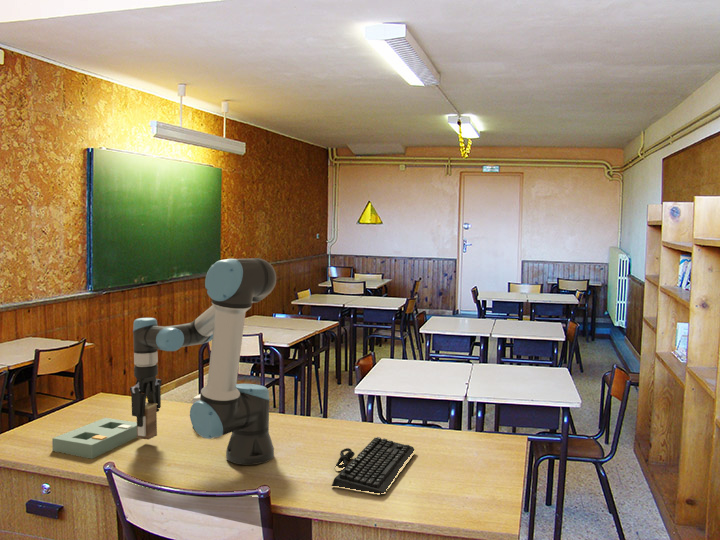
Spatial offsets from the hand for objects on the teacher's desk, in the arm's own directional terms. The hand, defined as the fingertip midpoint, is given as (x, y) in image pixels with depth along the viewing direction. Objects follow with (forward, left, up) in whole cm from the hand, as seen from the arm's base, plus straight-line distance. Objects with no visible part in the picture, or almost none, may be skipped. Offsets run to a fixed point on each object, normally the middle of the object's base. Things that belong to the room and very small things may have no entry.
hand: (147, 433), depth 211 cm
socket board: (+16, +5, -4) cm, 17 cm away
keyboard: (-75, -10, -5) cm, 76 cm away
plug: (0, 0, -1) cm, 1 cm away
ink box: (-7, -25, -4) cm, 27 cm away
